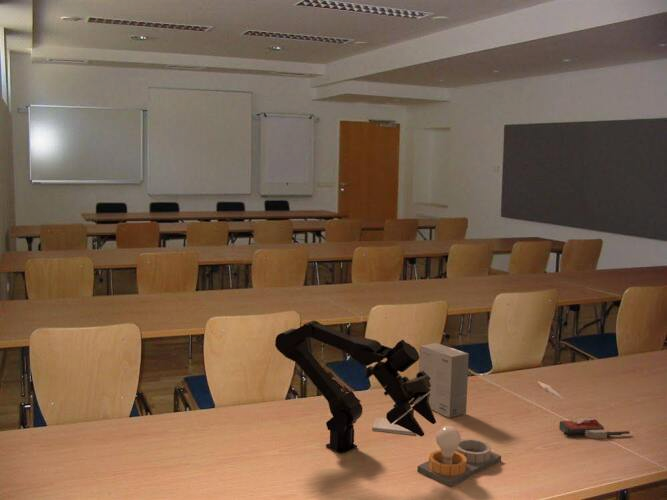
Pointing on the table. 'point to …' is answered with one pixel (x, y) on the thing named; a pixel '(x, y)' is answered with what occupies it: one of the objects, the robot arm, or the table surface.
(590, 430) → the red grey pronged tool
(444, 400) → the hard drive box
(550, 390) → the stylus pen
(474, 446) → the bulb holder
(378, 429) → the hard drive
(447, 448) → the lightbulb
